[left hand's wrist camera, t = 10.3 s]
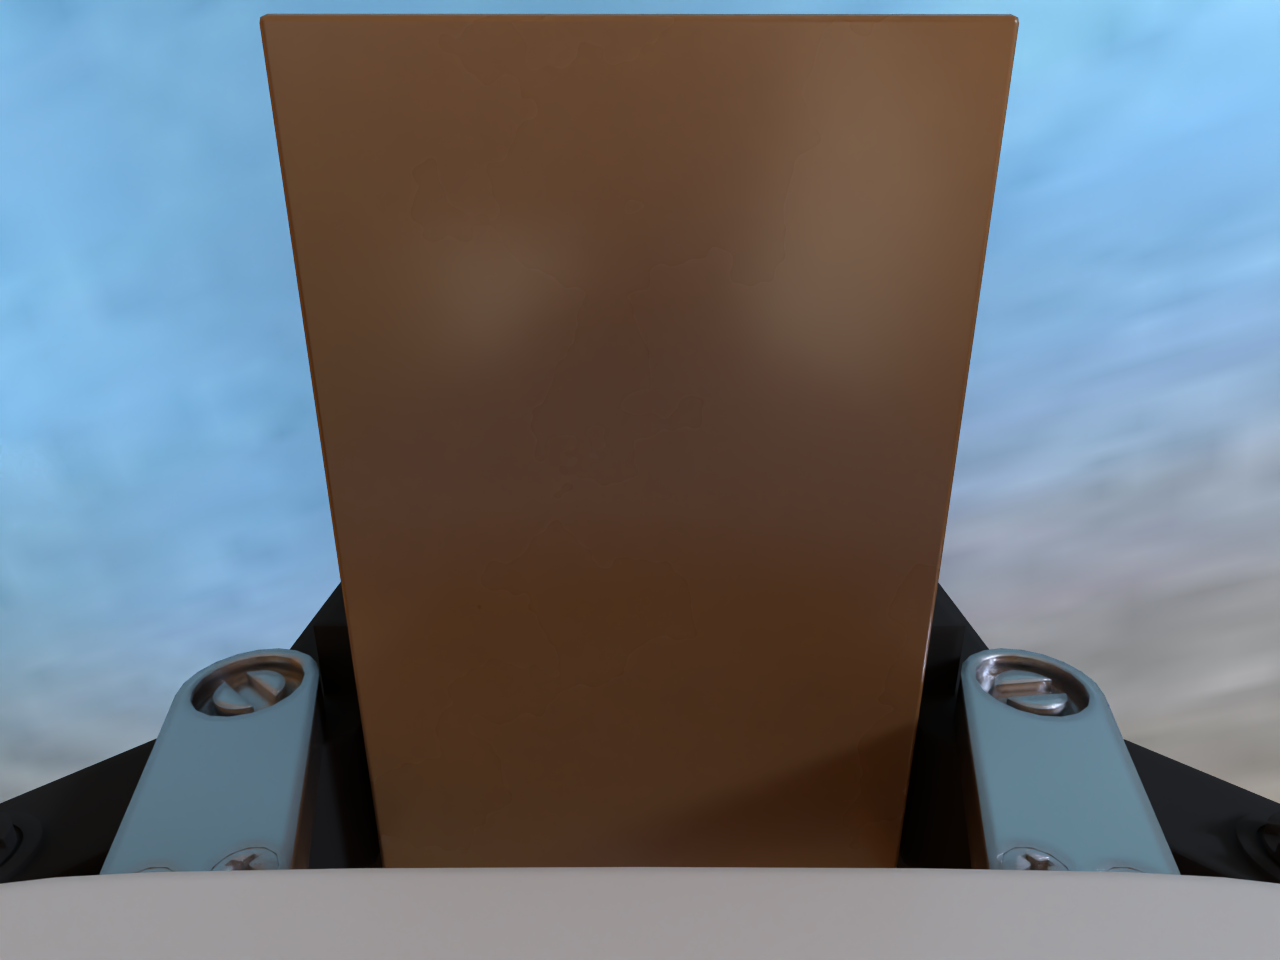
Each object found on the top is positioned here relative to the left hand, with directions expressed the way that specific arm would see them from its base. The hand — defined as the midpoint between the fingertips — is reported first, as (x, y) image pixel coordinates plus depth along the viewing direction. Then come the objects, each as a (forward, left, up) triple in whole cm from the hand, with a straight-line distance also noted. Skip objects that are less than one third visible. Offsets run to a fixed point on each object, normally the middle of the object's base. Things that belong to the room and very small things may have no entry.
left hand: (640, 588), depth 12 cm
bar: (+18, -4, -2) cm, 19 cm away
